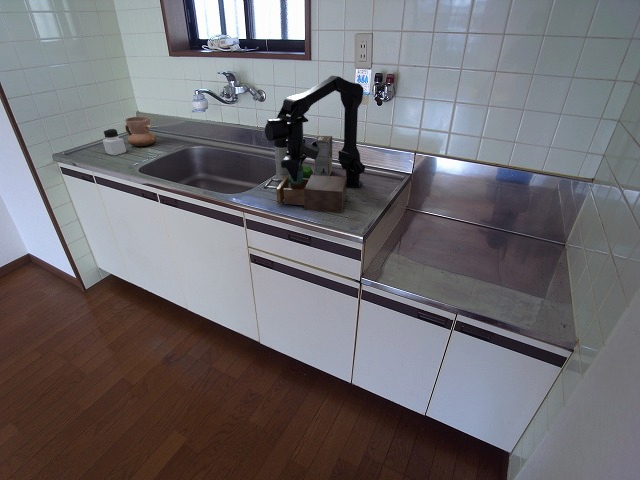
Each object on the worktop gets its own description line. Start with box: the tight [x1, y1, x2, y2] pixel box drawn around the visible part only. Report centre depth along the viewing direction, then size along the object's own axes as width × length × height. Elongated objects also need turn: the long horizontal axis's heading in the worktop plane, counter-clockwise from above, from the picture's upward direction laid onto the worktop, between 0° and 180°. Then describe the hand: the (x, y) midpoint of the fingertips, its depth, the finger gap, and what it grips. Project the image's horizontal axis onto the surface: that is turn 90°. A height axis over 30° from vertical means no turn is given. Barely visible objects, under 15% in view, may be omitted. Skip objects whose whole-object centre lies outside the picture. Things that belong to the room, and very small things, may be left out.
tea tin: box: [290, 167, 303, 184], centre depth 135 cm, size 5×5×5 cm
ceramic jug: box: [124, 116, 157, 148], centre depth 202 cm, size 18×14×14 cm
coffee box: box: [313, 135, 333, 176], centre depth 161 cm, size 9×6×16 cm
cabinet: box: [303, 174, 347, 213], centre depth 137 cm, size 14×14×8 cm
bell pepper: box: [302, 164, 314, 179], centre depth 150 cm, size 8×8×10 cm
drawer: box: [263, 176, 309, 206], centre depth 139 cm, size 18×13×6 cm
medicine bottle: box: [101, 128, 127, 156], centre depth 190 cm, size 7×7×12 cm
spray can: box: [273, 137, 291, 182], centre depth 154 cm, size 7×7×20 cm
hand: (296, 178), depth 136 cm, fingers closed on tea tin, 4 cm apart
